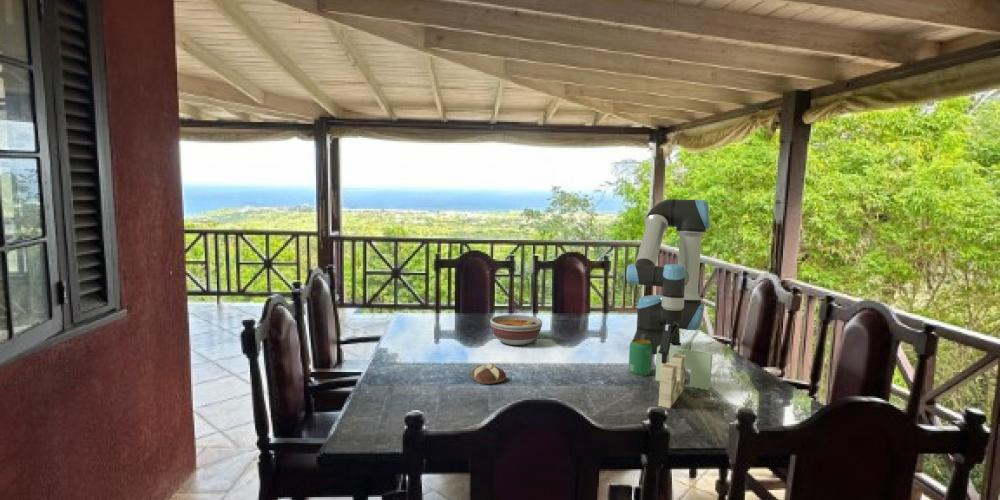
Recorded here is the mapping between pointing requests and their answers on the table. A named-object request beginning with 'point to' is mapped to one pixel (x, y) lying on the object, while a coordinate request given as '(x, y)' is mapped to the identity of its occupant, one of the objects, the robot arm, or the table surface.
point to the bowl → (515, 328)
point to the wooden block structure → (672, 380)
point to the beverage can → (640, 357)
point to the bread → (488, 374)
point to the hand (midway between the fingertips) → (668, 367)
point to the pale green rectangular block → (692, 366)
